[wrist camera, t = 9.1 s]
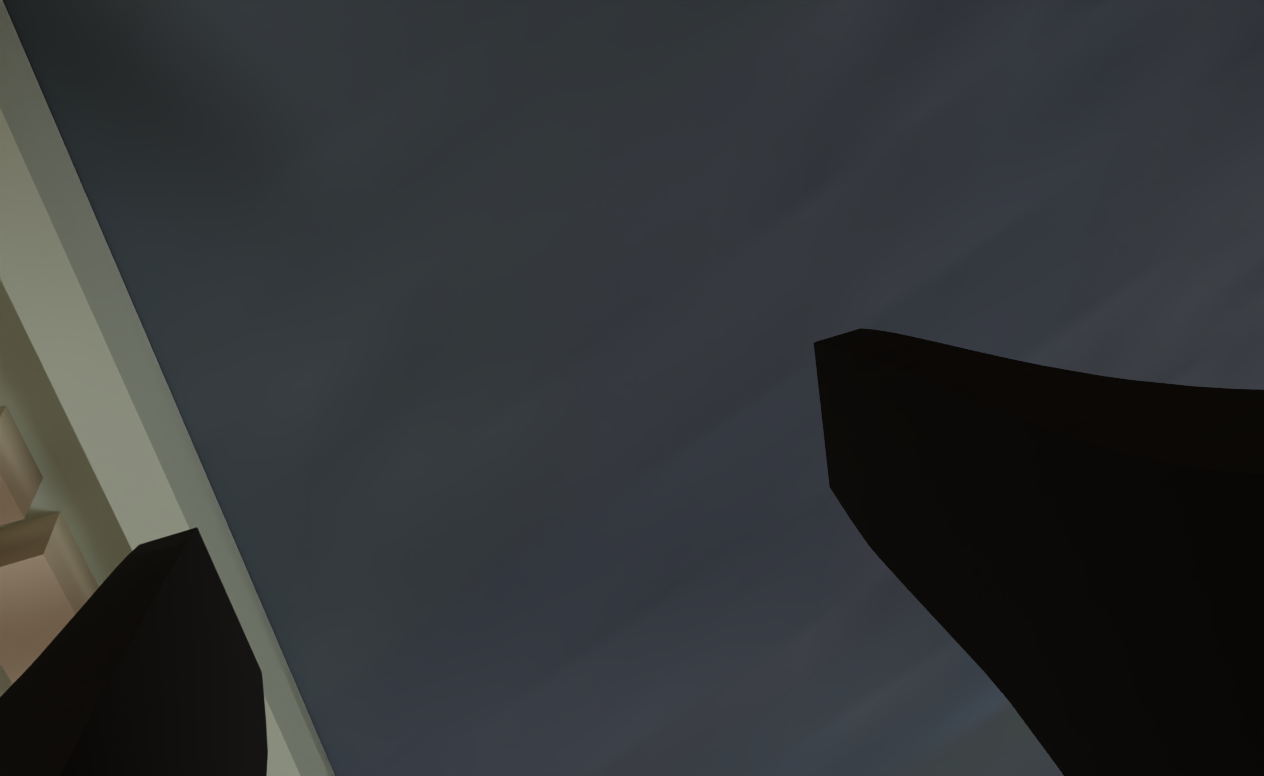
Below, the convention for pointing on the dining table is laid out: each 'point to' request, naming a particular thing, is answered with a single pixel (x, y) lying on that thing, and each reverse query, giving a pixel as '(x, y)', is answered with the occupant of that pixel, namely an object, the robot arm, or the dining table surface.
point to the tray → (106, 394)
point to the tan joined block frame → (33, 561)
